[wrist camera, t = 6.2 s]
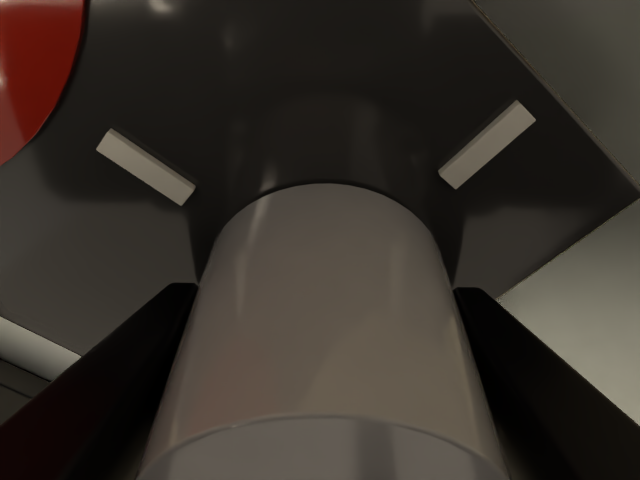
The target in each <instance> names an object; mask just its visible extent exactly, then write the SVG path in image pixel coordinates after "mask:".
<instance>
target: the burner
mask: <svg viewBox="0 0 640 480" xmlns="http://www.w3.org/2000/svg"><path fill="white" fill-rule="evenodd" d="M86 6H87V0H0V166H1V165H3V164H4V163H6V162H7V161H9V160H10V159H12V158H13V157H14V156H15V155H17V154H18V153H19V152H20V151H21V150H22V149H23V148H24V147H25V146H26V145H27V144H28V143H29V142H30V141H31V140H32V139H33V138H34V137H35V136H36V135H37V134H38V133H39V131H40V130H41V129H42V127H43V126H44V124H45V123H46V121H47V120H48V118H49V117H50V116H51V114H52V113H53V111H54V110H55V108H56V107H57V105H58V103H59V101H60V99H61V97H62V95H63V92H64V90H65V88H66V86H67V84H68V81H69V79H70V77H71V75H72V73H73V69H74V65H75V62H76V58H77V54H78V51H79V47H80V43H81V40H82V36H83V31H84V22H85V14H86Z"/></svg>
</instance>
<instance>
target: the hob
mask: <svg viewBox="0 0 640 480" xmlns="http://www.w3.org/2000/svg"><path fill="white" fill-rule="evenodd" d="M320 183H333V184H343V185H351V186H355V187H360V188H364V189H368V190H370V191H373V192H376V193H379V194H382V195H384V196H386V197H388V198H390V199H392V200H394V201H396V202H397V203H399V204H400V205H402V206H403V207H405V208H406V209H408V210H409V211H411V212H412V213H413V214H414V215H415V216H416V217H417V218H418V219H419V220H420V221H422V223H423V224H424V225H425V226H426V228H427V229H428V230H429V231H430V232H431V234H432V236H433V238H434V239H435V241H436V243H437V245H438V247H439V250H440V253H441V255H442V258H443V261H444V264H445V267H446V271H447V274H448V277H449V280H450V283H451V286H452V290H454V289H455V288H457V287H477V288H481V289H482V290H484V291H485V292H486V293H487V294H488V295H489V296H491V297H492V298H493V299H494V300H497V299H498V298H500V297H501V296H502V295H504V294H505V293H507V292H508V291H510V290H511V289H512V288H514V287H515V286H517V285H518V284H520V283H521V282H522V281H524V280H525V279H527V278H528V277H529V276H531V275H532V274H534V273H535V272H537V271H538V270H539V269H541V268H542V267H544V266H545V265H547V264H548V263H549V262H551V261H552V260H554V259H555V258H556V257H558V256H559V255H561V254H562V253H564V252H565V251H566V250H568V249H569V248H571V247H572V246H574V245H575V244H576V243H578V242H579V241H581V240H582V239H584V238H585V237H586V236H588V235H589V234H591V233H592V232H593V231H595V230H596V229H598V228H599V227H601V226H602V225H603V224H605V223H606V222H608V221H609V220H611V219H612V218H613V217H615V216H616V215H618V214H619V213H620V212H622V211H623V210H625V209H626V208H628V207H629V206H630V205H632V204H633V203H635V202H636V201H638V200H639V199H640V184H639V183H638V182H637V181H636V180H635V179H634V178H633V177H632V176H631V175H630V173H629V172H628V171H627V170H626V169H625V168H624V167H623V166H622V165H621V163H620V162H619V161H618V160H617V159H616V158H615V157H614V156H613V155H612V154H611V152H610V151H609V150H608V149H607V148H606V147H605V146H604V145H603V144H602V142H601V141H600V140H599V139H598V138H597V137H596V136H595V135H594V134H593V133H592V131H591V130H590V129H589V128H588V127H587V126H586V125H585V124H584V123H583V121H582V120H581V119H580V118H579V117H578V116H577V115H576V114H575V113H574V112H573V110H572V109H571V108H570V107H569V106H568V105H567V104H566V103H565V102H564V100H563V99H562V98H561V97H560V96H559V95H558V94H557V93H556V92H555V91H554V89H553V88H552V87H551V86H550V85H549V84H548V83H547V82H546V81H545V79H544V78H543V77H542V76H541V75H540V74H539V73H538V72H537V71H536V70H535V68H534V67H533V66H532V65H531V64H530V63H529V62H528V61H527V60H526V58H525V57H524V56H523V55H522V54H521V53H520V52H519V51H518V50H517V49H516V47H515V46H514V45H513V44H512V43H511V42H510V41H509V40H508V39H507V37H506V36H505V35H504V34H503V33H502V32H501V31H500V30H499V29H498V28H497V26H496V25H495V24H494V23H493V22H492V21H491V20H490V19H489V18H488V16H487V15H486V14H485V13H484V12H483V11H482V10H481V9H480V8H479V6H478V5H477V4H476V3H475V2H474V1H473V0H87V6H86V14H85V22H84V31H83V36H82V40H81V43H80V47H79V51H78V54H77V58H76V62H75V65H74V69H73V73H72V75H71V77H70V79H69V81H68V84H67V86H66V88H65V90H64V92H63V95H62V97H61V99H60V101H59V103H58V105H57V107H56V108H55V110H54V111H53V113H52V114H51V116H50V117H49V118H48V120H47V121H46V123H45V124H44V126H43V127H42V129H41V130H40V131H39V133H38V134H37V135H36V136H35V137H34V138H33V139H32V140H31V141H30V142H29V143H28V144H27V145H26V146H25V147H24V148H23V149H22V150H21V151H20V152H19V153H18V154H17V155H15V156H14V157H13V158H12V159H10V160H9V161H7V162H6V163H4V164H3V165H1V166H0V316H1V317H3V318H5V319H7V320H9V321H11V322H13V323H15V324H17V325H19V326H21V327H23V328H25V329H27V330H29V331H31V332H33V333H35V334H37V335H40V336H42V337H44V338H46V339H48V340H50V341H52V342H54V343H56V344H58V345H60V346H62V347H64V348H66V349H68V350H70V351H72V352H74V353H76V354H78V355H80V356H83V355H85V354H86V353H87V352H88V351H89V350H91V349H92V348H93V347H94V346H95V345H97V344H98V343H99V342H100V341H101V340H103V339H104V338H105V337H106V336H107V335H109V334H110V333H111V332H112V331H113V330H115V329H116V328H117V327H118V326H119V325H121V324H122V323H123V322H124V321H125V320H127V319H128V318H129V317H130V316H131V315H133V314H134V313H135V312H136V311H137V310H139V309H140V308H141V307H142V306H143V305H145V304H146V303H147V302H148V301H149V300H151V299H152V298H153V297H154V296H155V295H157V294H158V293H159V292H160V291H161V290H163V289H164V288H165V287H166V286H167V285H169V284H171V283H175V282H179V283H195V284H196V285H197V286H198V287H199V284H200V281H201V278H202V275H203V272H204V269H205V266H206V263H207V260H208V257H209V254H210V251H211V248H212V246H213V244H214V242H215V240H216V238H217V236H218V235H219V233H220V232H221V231H222V229H223V228H224V226H225V225H226V224H227V223H228V222H229V221H230V220H231V219H232V218H233V217H234V216H235V215H236V214H237V213H238V212H240V211H241V210H242V209H244V208H245V207H246V206H248V205H249V204H251V203H253V202H255V201H256V200H258V199H260V198H262V197H264V196H266V195H269V194H271V193H274V192H276V191H279V190H282V189H286V188H290V187H294V186H299V185H307V184H320Z"/></svg>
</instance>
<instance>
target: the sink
mask: <svg viewBox="0 0 640 480" xmlns="http://www.w3.org/2000/svg"><path fill="white" fill-rule="evenodd" d="M49 384H50V382H48V381H45V380H43V379H41V378H39V377H37V376H35V375H32V374H30V373H28V372H26V371H24V370H21V369H19V368H17V367H15V366H13V365H11V364H8V363H6V362H4V361H2V360H0V424H2V423H3V422H4V421H5V420H7V419H8V418H9V417H10V416H11V415H13V414H14V413H15V412H16V411H17V410H19V409H20V408H21V407H22V406H23V405H25V404H26V403H27V402H28V401H29V400H31V399H32V398H33V397H34V396H35V395H37V394H38V393H39V392H40V391H41V390H43V389H44V388H45V387H46V386H47V385H49Z"/></svg>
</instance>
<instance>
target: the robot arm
mask: <svg viewBox="0 0 640 480" xmlns="http://www.w3.org/2000/svg"><path fill="white" fill-rule="evenodd" d="M197 290H198V286H197V285H196V284H195V283H179V282H175V283H171V284H169V285H167V286H166V287H165V288H164V289H163V290H161V291H160V292H159V293H158V294H157V295H155V296H154V297H153V298H152V299H151V300H149V301H148V302H147V303H146V304H145V305H143V306H142V307H141V308H140V309H139V310H137V311H136V312H135V313H134V314H133V315H131V316H130V317H129V318H128V319H127V320H125V321H124V322H123V323H122V324H121V325H119V326H118V327H117V328H116V329H115V330H113V331H112V332H111V333H110V334H109V335H107V336H106V337H105V338H104V339H103V340H101V341H100V342H99V343H98V344H97V345H95V346H94V347H93V348H92V349H91V350H89V351H88V352H87V353H86V354H85V355H83V356H82V357H81V358H80V359H79V360H77V361H76V362H75V363H74V364H73V365H71V366H70V367H69V368H68V369H67V370H65V371H64V372H63V373H62V374H61V375H59V376H58V377H57V378H56V379H55V380H53V381H52V382H51V383H50V384H49V385H47V386H46V387H45V388H44V389H43V390H41V391H40V392H39V393H38V394H37V395H35V396H34V397H33V398H32V399H31V400H29V401H28V402H27V403H26V404H25V405H23V406H22V407H21V408H20V409H19V410H17V411H16V412H15V413H14V414H13V415H11V416H10V417H9V418H8V419H7V420H5V421H4V422H3V423H2V424H0V480H134V478H135V475H136V472H137V469H138V466H139V463H140V460H141V457H142V454H143V451H144V448H145V445H146V442H147V439H148V436H149V433H150V430H151V427H152V424H153V421H154V418H155V415H156V412H157V409H158V406H159V403H160V400H161V397H162V394H163V391H164V388H165V385H166V382H167V380H168V377H169V374H170V371H171V368H172V365H173V362H174V359H175V356H176V353H177V350H178V347H179V344H180V341H181V338H182V335H183V332H184V329H185V326H186V323H187V320H188V317H189V314H190V311H191V308H192V305H193V302H194V299H195V296H196V293H197ZM453 293H454V296H455V299H456V302H457V305H458V308H459V312H460V315H461V318H462V321H463V324H464V327H465V330H466V334H467V337H468V340H469V343H470V346H471V349H472V352H473V356H474V359H475V362H476V365H477V368H478V371H479V375H480V378H481V381H482V384H483V387H484V390H485V393H486V397H487V400H488V403H489V406H490V409H491V412H492V415H493V419H494V422H495V425H496V428H497V431H498V434H499V437H500V441H501V444H502V447H503V450H504V453H505V456H506V459H507V463H508V466H509V469H510V472H511V475H512V478H513V480H640V426H639V425H638V424H637V423H635V422H634V421H633V420H632V419H631V418H630V417H629V416H627V415H626V414H625V413H624V412H623V411H622V410H620V409H619V408H618V407H617V406H616V405H615V404H614V403H612V402H611V401H610V400H609V399H608V398H607V397H606V396H604V395H603V394H602V393H601V392H600V391H599V390H598V389H596V388H595V387H594V386H593V385H592V384H591V383H589V382H588V381H587V380H586V379H585V378H584V377H583V376H581V375H580V374H579V373H578V372H577V371H576V370H575V369H573V368H572V367H571V366H570V365H569V364H568V363H566V362H565V361H564V360H563V359H562V358H561V357H560V356H558V355H557V354H556V353H555V352H554V351H553V350H552V349H550V348H549V347H548V346H547V345H546V344H545V343H544V342H542V341H541V340H540V339H539V338H538V337H537V336H535V335H534V334H533V333H532V332H531V331H530V330H529V329H527V328H526V327H525V326H524V325H523V324H522V323H521V322H519V321H518V320H517V319H516V318H515V317H514V316H512V315H511V314H510V313H509V312H508V311H507V310H506V309H504V308H503V307H502V306H501V305H500V304H499V303H498V302H496V301H495V300H494V299H493V298H492V297H491V296H489V295H488V294H487V293H486V292H485V291H484V290H482V289H481V288H477V287H457V288H455V289H454V290H453Z"/></svg>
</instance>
